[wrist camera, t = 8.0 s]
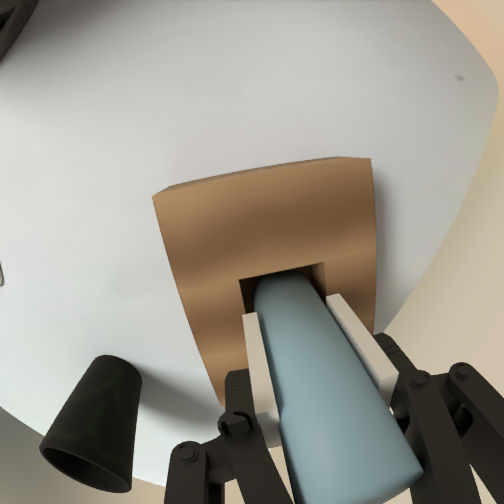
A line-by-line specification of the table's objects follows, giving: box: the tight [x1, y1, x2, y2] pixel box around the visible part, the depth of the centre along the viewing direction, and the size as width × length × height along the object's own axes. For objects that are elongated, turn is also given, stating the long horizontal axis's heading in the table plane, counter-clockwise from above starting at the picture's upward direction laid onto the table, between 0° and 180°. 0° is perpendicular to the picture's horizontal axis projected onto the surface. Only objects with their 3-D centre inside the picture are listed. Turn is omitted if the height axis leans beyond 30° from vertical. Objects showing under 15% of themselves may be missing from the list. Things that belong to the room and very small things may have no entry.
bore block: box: [152, 157, 376, 406], centre depth 19 cm, size 16×12×5 cm
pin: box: [252, 268, 424, 504], centre depth 11 cm, size 4×4×14 cm
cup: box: [39, 355, 142, 493], centre depth 18 cm, size 8×8×12 cm
